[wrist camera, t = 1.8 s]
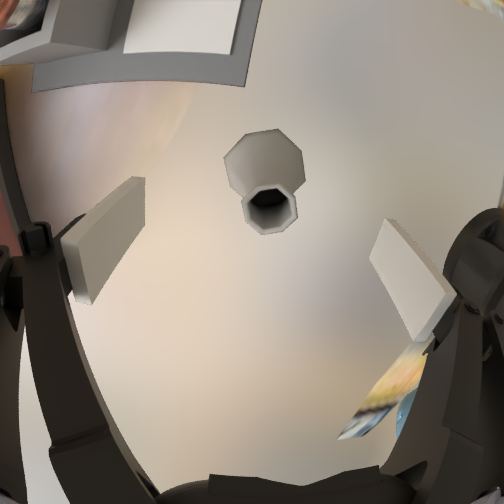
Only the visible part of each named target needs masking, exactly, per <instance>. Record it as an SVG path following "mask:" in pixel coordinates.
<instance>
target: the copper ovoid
mask: <svg viewBox="0 0 504 504" xmlns="http://www.w3.org/2000/svg"><path fill="white" fill-rule="evenodd" d="M48 3H49V0H0V31H1V30H2V29H13V30H28V31H38V32H39V31H41V29H42V25H43V21H44V17H45V13H46V10H47V6H48Z"/></svg>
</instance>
